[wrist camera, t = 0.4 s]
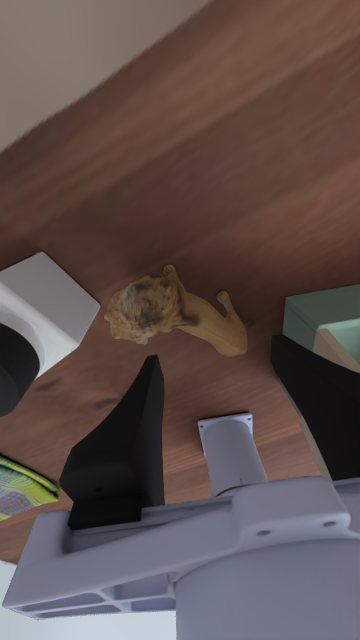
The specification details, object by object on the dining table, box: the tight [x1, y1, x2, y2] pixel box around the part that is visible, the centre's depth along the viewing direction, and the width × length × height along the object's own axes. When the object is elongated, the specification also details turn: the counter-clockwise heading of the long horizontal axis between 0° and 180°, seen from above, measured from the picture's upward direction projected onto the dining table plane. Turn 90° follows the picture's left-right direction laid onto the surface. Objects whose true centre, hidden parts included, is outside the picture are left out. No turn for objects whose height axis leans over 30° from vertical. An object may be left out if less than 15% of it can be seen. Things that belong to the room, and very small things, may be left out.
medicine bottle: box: [0, 251, 100, 417], centre depth 17 cm, size 7×7×12 cm
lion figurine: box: [104, 265, 256, 357], centre depth 19 cm, size 15×5×9 cm, turn 69°
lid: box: [300, 328, 360, 481], centre depth 15 cm, size 13×13×1 cm
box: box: [279, 284, 360, 418], centre depth 24 cm, size 13×13×6 cm
